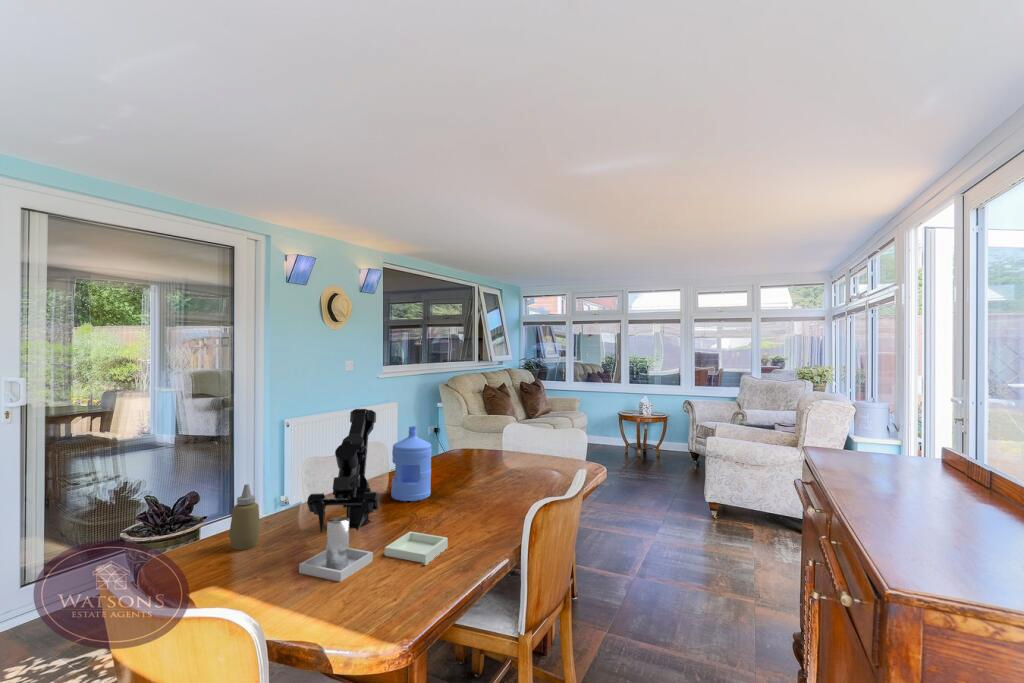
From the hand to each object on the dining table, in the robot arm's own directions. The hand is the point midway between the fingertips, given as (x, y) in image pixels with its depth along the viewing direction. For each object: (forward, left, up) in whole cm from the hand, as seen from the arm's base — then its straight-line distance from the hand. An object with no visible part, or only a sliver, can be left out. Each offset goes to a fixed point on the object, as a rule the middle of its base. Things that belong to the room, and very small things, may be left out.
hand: (339, 531), depth 127 cm
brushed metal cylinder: (+1, -2, -8) cm, 9 cm away
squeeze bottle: (-34, 0, -10) cm, 35 cm away
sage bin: (+15, +15, -9) cm, 23 cm away
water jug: (-16, +62, -10) cm, 65 cm away
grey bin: (+1, -2, -9) cm, 10 cm away
